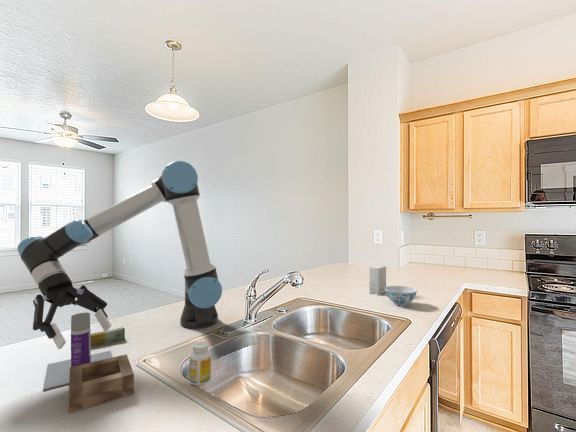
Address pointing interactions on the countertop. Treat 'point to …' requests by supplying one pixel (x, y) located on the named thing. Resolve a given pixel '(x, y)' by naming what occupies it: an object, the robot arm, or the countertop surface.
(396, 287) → the chinaware
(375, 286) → the skincare box
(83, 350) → the container
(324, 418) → the countertop surface
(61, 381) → the grey mat
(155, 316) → the countertop surface
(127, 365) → the walnut box
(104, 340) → the medication box
